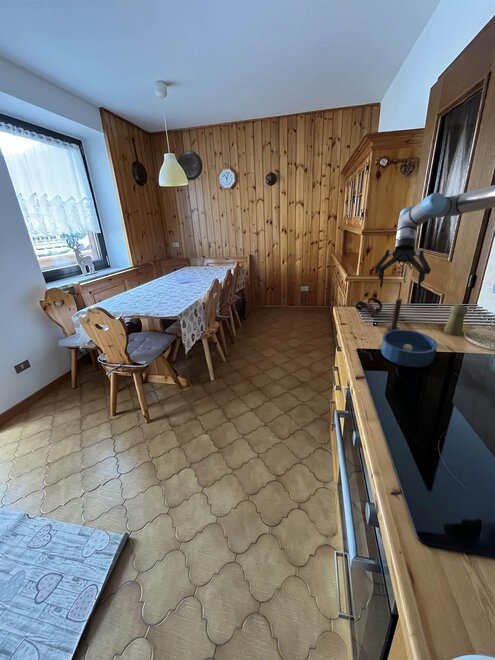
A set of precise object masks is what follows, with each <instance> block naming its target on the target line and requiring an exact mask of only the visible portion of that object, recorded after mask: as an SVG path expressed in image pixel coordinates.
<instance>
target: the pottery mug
mask: <svg viewBox="0 0 495 660" xmlns="http://www.w3.org/2000/svg"><path fill="white" fill-rule="evenodd" d="M371 301H373V303H376V304H378V307H374V306H372V304H371V303H370V302H371ZM354 308H355V309H356V310H357V311H358V312H359V313H361V312H362V311H363V309H365V310H369V311H370V314H369V316H370V317H375V316H376V315H378V314H380V313H381V312H382V308H383V303H382V302H381V300H379V298H376V297H369V298H367V299H364V300H363V301H361V300H357V301H356V302H355V303H354ZM374 308H375V309H374Z"/></svg>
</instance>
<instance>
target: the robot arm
mask: <svg viewBox="0 0 495 660" xmlns="http://www.w3.org/2000/svg"><path fill="white" fill-rule="evenodd" d="M492 208H495V184H493V185H489V186H485V187H482V188H479V189H474V190H471V191H466V192H463V193H459V194H456V195H455V194H454V195H451V196H445V195H444V194H443V193H440V192H438V191H437V192H433V193H431V194H430V195H428V196H426V197H425V198H423V199H422V200H421V201H420V202H419V203H418V204H416V205H415V206H408V207H404V208H403V209H402V210H401V211H400V213H399V217H398V221H397V222H398V223H397V228H396V229H397V230H396V236H395V243H394V249H393V251H390V249H386V250H385V254H384V255H383V256H382V258H381V259H380V260H379V261H378V263H377V264H376V265H375V266H374V272H378V277H377V278H378V280H380V284H379V288H383V283H384V276H385V271H386V270H387V269H388V268H390V267H391V266H392V265H393V264H395V263H396V262H398V263H404V264H405V263H406V264H407V263H409V264H410V265H411V266H412V267H413V268H414V269H415V270H416V271H417V272H418V275H417V276H418V278H417V285H416V291H420V289H421V285H422V283H423V282H424V281H425V277H426V275H430V274H431V271H432V268H431V267H430V265H429V263H428V261H427V259H426V257H425V255H424V250H420V251H416V242H417V234H418V227H419V226H421V225H422V224H424V223H426V222H427V221H428V220H431V219H436V218H445V217H457V216H461V215H463V214H467V213H472V212H478V211H483V210H488V209H492ZM391 256H392V258H391V259H389V260H388V258H389V257H391ZM416 258H417V259H418V261H417V260H416ZM387 260H388V261H387ZM386 261H387V262H386ZM385 262H386V263H385ZM419 262H420V263H419Z"/></svg>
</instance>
